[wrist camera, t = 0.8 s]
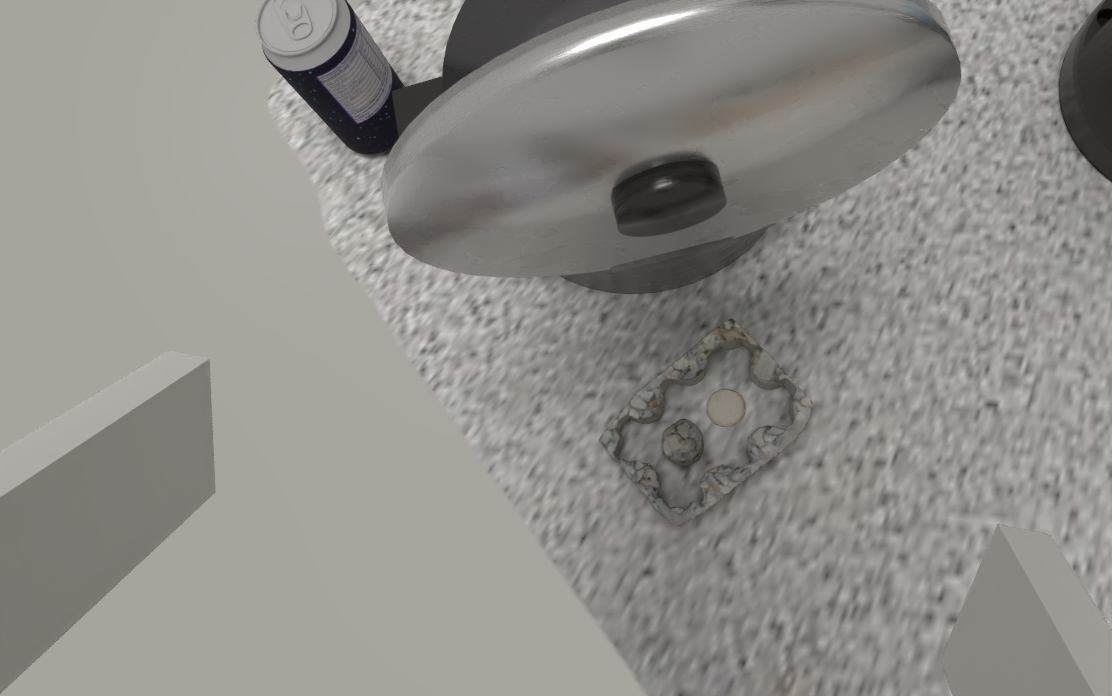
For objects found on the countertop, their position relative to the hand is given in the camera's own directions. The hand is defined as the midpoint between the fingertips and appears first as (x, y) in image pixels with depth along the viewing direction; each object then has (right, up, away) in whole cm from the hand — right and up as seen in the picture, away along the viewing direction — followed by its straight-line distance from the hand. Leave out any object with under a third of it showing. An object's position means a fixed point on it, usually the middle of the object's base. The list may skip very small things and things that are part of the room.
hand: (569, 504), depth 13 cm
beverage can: (-13, +18, +43) cm, 48 cm away
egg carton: (+9, -2, +34) cm, 35 cm away
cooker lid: (+3, +10, +16) cm, 19 cm away
